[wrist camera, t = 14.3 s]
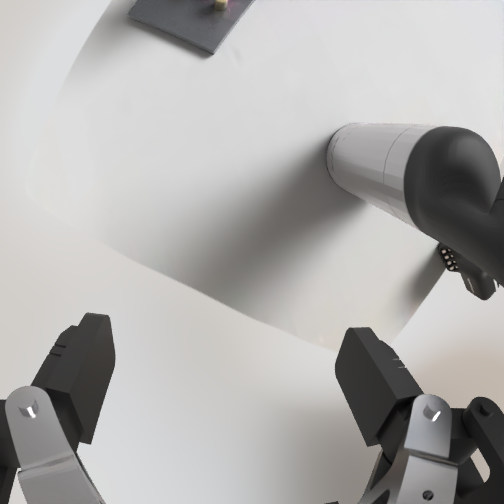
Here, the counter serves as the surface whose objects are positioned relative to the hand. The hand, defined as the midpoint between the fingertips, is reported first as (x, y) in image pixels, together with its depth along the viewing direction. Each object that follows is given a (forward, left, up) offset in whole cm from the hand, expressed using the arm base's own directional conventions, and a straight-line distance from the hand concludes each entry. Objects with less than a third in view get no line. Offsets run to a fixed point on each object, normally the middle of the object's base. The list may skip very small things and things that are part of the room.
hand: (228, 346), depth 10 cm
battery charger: (-37, +6, -29) cm, 48 cm away
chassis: (+4, -27, -29) cm, 39 cm away
